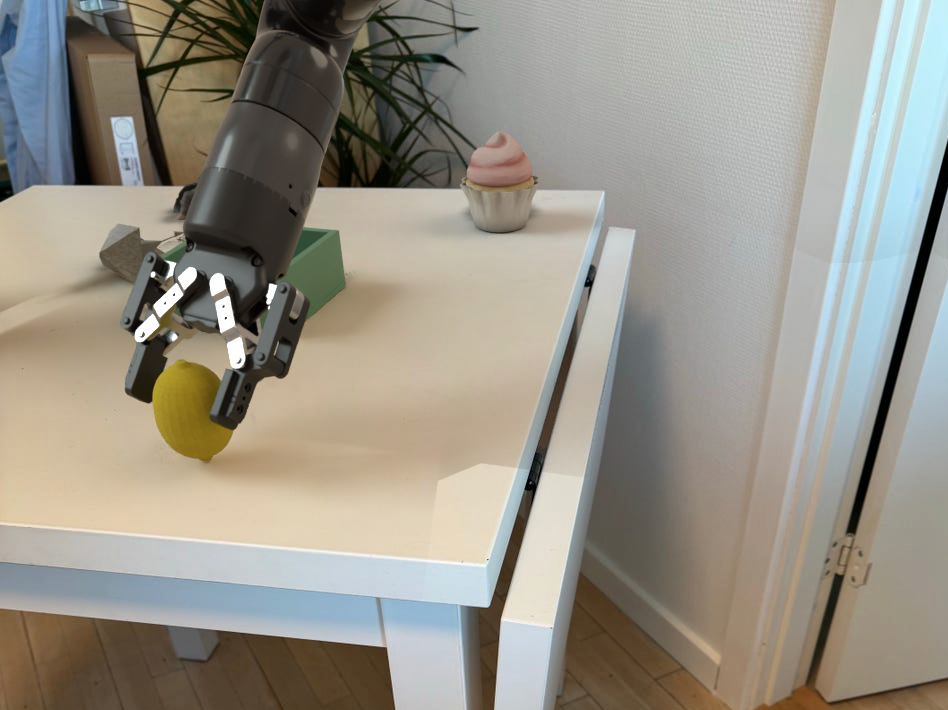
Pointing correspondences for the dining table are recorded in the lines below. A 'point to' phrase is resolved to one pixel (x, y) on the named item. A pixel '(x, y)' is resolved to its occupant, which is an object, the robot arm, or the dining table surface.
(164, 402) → the lemon
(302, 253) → the bin
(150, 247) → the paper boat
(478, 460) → the dining table surface
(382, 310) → the dining table surface
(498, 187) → the cupcake
